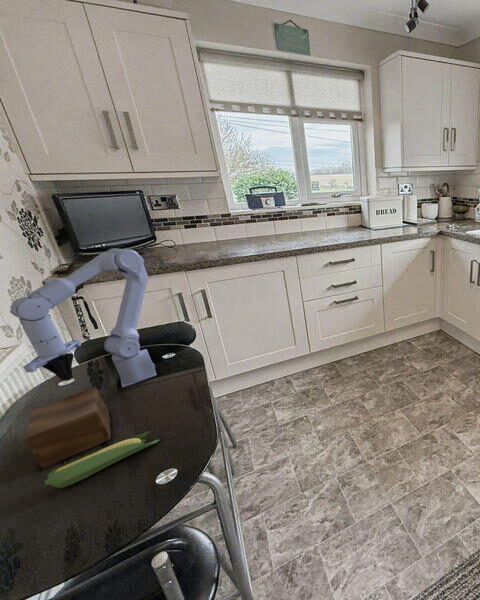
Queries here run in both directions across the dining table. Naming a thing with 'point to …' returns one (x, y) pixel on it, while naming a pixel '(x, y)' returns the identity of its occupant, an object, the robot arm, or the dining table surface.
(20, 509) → the dining table surface
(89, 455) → the edible corn
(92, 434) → the cabinet
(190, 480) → the dining table surface
